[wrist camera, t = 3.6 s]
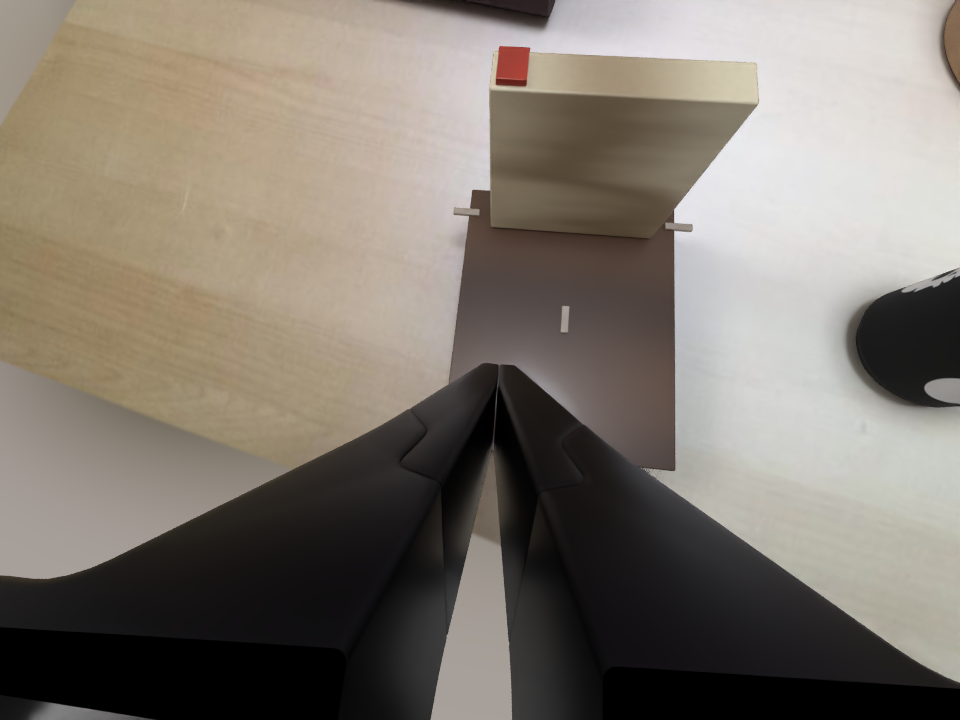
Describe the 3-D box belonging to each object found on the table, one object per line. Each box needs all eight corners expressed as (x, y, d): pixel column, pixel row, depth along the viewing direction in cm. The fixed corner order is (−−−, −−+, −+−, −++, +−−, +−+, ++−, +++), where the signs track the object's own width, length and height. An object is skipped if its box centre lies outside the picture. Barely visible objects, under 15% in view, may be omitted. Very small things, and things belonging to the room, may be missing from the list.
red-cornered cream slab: (651, 212, 19) (763, 53, 11) (651, 239, 19) (765, 96, 11) (493, 201, 20) (493, 41, 12) (490, 227, 20) (489, 81, 12)
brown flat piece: (664, 467, 20) (696, 473, 17) (433, 442, 20) (422, 444, 17) (664, 166, 23) (691, 125, 20) (469, 154, 24) (466, 112, 21)
